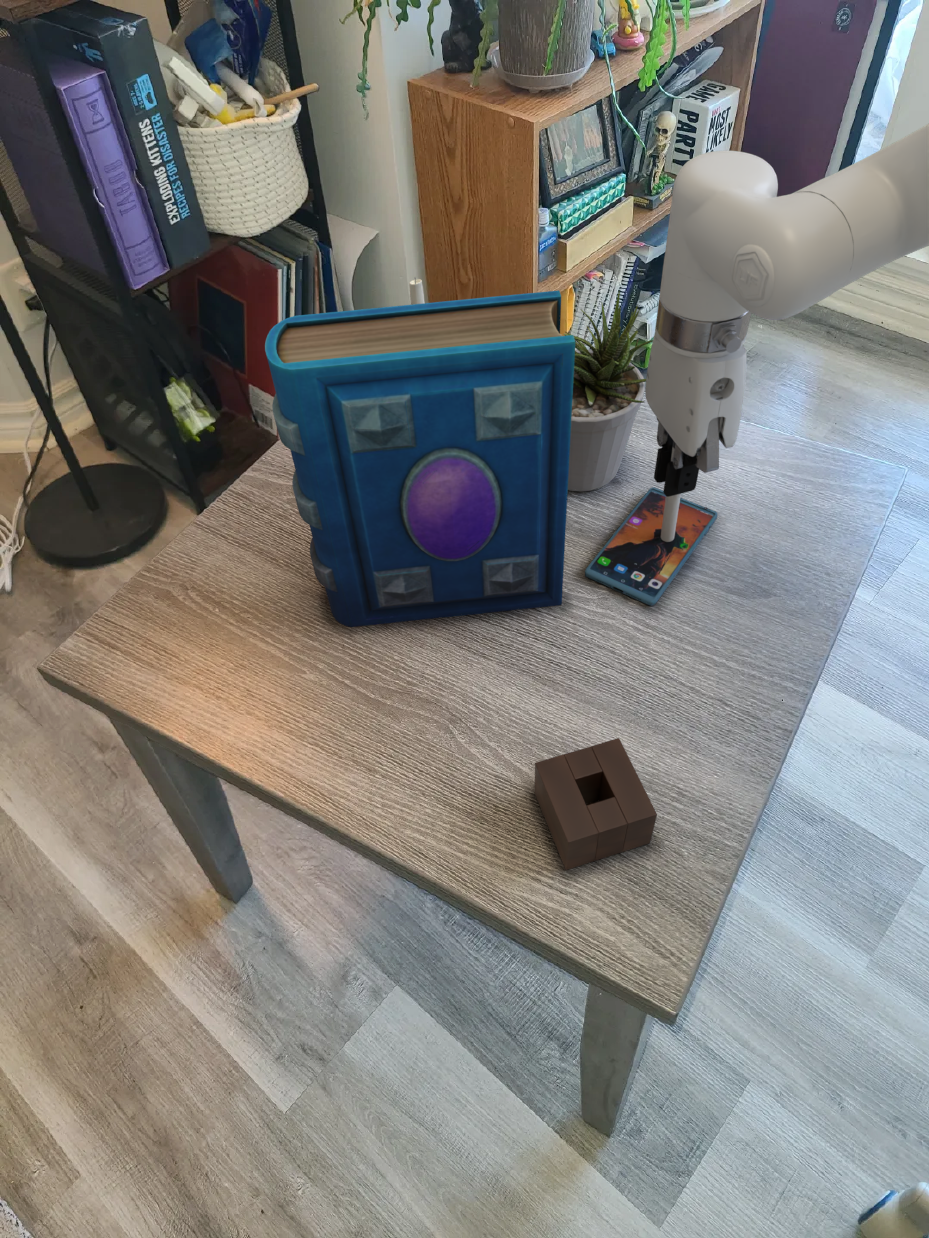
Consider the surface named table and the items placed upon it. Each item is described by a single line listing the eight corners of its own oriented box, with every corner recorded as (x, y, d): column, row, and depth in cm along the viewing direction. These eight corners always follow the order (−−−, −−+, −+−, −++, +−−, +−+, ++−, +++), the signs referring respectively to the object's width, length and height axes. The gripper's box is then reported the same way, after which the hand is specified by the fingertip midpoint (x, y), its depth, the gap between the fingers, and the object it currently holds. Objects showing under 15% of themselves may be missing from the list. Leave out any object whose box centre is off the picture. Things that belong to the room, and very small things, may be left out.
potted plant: (617, 522, 97) (634, 364, 82) (505, 484, 102) (502, 328, 87) (661, 455, 104) (685, 297, 88) (554, 422, 109) (559, 267, 93)
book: (322, 641, 89) (253, 384, 65) (322, 576, 94) (259, 318, 71) (564, 616, 89) (580, 353, 66) (550, 553, 95) (560, 290, 72)
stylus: (670, 531, 95) (685, 433, 85) (676, 540, 94) (691, 442, 84) (658, 534, 94) (670, 437, 84) (663, 543, 93) (677, 446, 83)
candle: (397, 391, 114) (383, 278, 102) (427, 373, 116) (416, 260, 104) (425, 408, 112) (413, 294, 100) (455, 389, 114) (447, 275, 102)
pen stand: (614, 768, 78) (619, 737, 74) (650, 843, 73) (657, 814, 69) (534, 792, 77) (534, 762, 73) (565, 870, 72) (568, 842, 68)
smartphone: (582, 571, 92) (651, 484, 99) (582, 579, 93) (650, 494, 100) (654, 601, 88) (720, 510, 96) (653, 610, 89) (719, 519, 97)
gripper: (792, 359, 70) (747, 528, 84) (701, 264, 80) (674, 429, 94) (704, 379, 69) (673, 547, 83) (623, 280, 79) (607, 446, 93)
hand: (674, 484), depth 88 cm, fingers closed on stylus, 1 cm apart
